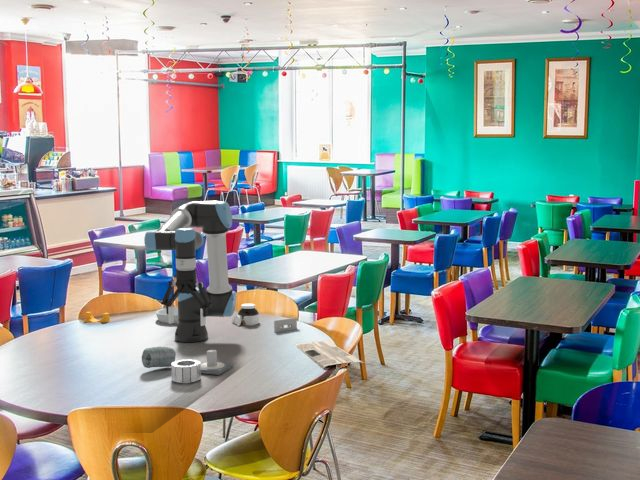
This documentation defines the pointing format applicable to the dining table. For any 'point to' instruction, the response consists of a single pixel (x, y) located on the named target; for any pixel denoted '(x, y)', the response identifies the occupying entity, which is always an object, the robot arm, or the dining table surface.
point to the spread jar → (246, 315)
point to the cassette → (289, 322)
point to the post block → (214, 364)
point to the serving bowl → (163, 315)
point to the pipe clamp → (91, 319)
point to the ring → (186, 370)
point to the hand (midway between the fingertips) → (187, 324)
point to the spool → (158, 357)
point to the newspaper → (326, 353)
